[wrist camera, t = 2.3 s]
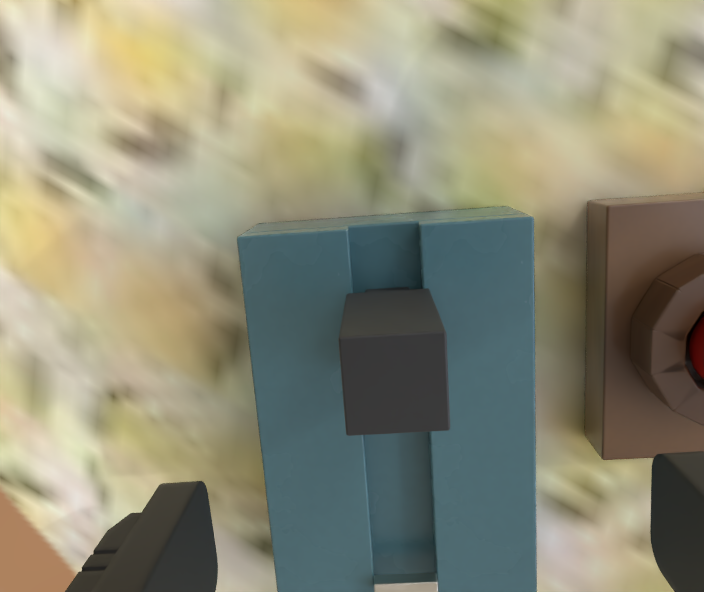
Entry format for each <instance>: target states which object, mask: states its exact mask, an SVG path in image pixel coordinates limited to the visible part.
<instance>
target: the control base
mask: <svg viewBox="0 0 704 592" xmlns="http://www.w3.org/2000/svg"><path fill="white" fill-rule="evenodd" d="M237 244H238V252H239V261H240V270H241V278H242V287H243V296H244V304H245V313H246V322H247V330H248V339H249V348H250V357H251V365H252V374H253V383H254V391H255V400H256V409H257V417H258V426H259V435H260V443H261V452H262V461H263V470H264V478H265V487H266V496H267V504H268V513H269V522H270V530H271V539H272V548H273V556H274V565H275V574H276V583H277V591H278V592H537V556H536V424H535V293H534V218H533V217H532V216H530V215H527V214H525V213H523V212H520V211H518V210H516V209H513V208H511V207H509V206H501V207H487V208H472V209H458V210H444V211H429V212H415V213H401V214H386V215H372V216H358V217H343V218H329V219H315V220H300V221H286V222H272V223H259V224H257V225H256V226H254V227H253V228H251V229H250V230H248V231H247V232H245V233H243V234H242V235H240V236H239V237H237ZM396 287H409V288H410V290H411V289H426V288H428V289H429V290H430V292H431V295H432V297H433V300H434V303H435V305H436V308H437V310H438V313H439V315H440V318H441V320H442V323H443V325H444V328H445V330H446V333H447V358H448V382H449V407H450V430H448V431H430V432H411V433H392V434H373V435H354V436H348V435H347V434H346V427H345V415H344V403H343V390H342V378H341V366H340V354H339V341H338V338H339V333H340V327H341V322H342V317H343V311H344V306H345V300H346V295H347V294H348V293H364V292H365V290H367V289H381V288H396Z"/></svg>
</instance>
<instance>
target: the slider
mask: <svg viewBox="0 0 704 592" xmlns="http://www.w3.org/2000/svg"><path fill="white" fill-rule="evenodd" d="M338 341H339V354H340V366H341V378H342V390H343V403H344V415H345V427H346V434H347V435H348V436H354V435H373V434H392V433H411V432H430V431H448V430H450V407H449V382H448V358H447V333H446V330H445V328H444V325H443V323H442V320H441V318H440V315H439V313H438V310H437V308H436V305H435V303H434V300H433V297H432V295H431V292H430V290H429V289H428V288H426V289H411V290H410V288H409V287H396V288H381V289H367V290H365V292H364V293H348V294H347V295H346V300H345V306H344V311H343V317H342V322H341V327H340V333H339V338H338Z"/></svg>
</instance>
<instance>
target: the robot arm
mask: <svg viewBox="0 0 704 592" xmlns="http://www.w3.org/2000/svg"><path fill="white" fill-rule="evenodd" d="M651 544H652V549H653V553H654V557H655V560H656V562H657V565H658V567H659V569H660V571H661V573H662V574H663V576H664V577H665V578H666V580H667V581H668V583H669V584H670V586H671V587H672V589H673V590H674V591H675V592H704V452H703V451H695V452H679V453H663V454H657V455H656V456H655V457H654V460H653V464H652V487H651ZM217 573H218V563H217V553H216V546H215V540H214V533H213V526H212V519H211V512H210V505H209V499H208V492H207V488H206V486H205V484H204V482H202V481H195V482H179V483H163V484H161V485H159V487H158V488H157V489H156V491H155V493H154V494H153V496H152V497H151V499H150V500H149V502H148V504H147V505H146V507H145V508H144V510H143V511H142V513H131V514H129V515H128V516H127V517H125V518H124V519H123V520H121V521H120V522H119V523H117V524H116V525H115V526H113V527H112V528H111V529H109V530H108V531H107V532H106V534H105V535H104V537H103V538H102V540H101V541H100V542H99V544H98V545H97V547H96V548H95V550H94V554H93V555H90V557H89V558H88V560H87V561H86V562H85V564H84V565H83V567H82V572H78V574H77V575H76V577H75V578H74V580H73V581H72V583H71V584H70V585H69V587H68V588H67V590H66V591H65V592H215V590H216V584H217Z"/></svg>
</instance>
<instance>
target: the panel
mask: <svg viewBox="0 0 704 592" xmlns="http://www.w3.org/2000/svg"><path fill="white" fill-rule="evenodd" d="M703 317H704V192H702V193H687V194H673V195H659V196H644V197H630V198H616V199H601V200H590V201H588V203H587V289H586V376H585V436H586V438H587V439H588V441H589V442H590V443H591V445H592V446H593V447H594V449H595V450H596V451H597V453H598V454H599V456H600V457H601V458H602V459H603V460H613V459H633V458H653V457H655V456H656V455H657V454H663V453H679V452H695V451H703V452H704V379H703V378H702V377H701V376H700V375H699V374H698V373H697V372H696V370H695V369H694V367H693V365H692V363H691V359H690V354H689V344H690V339H691V335H692V333H693V330H694V329H695V327H696V325H697V324H698V322H699V321H700V320H701V319H702V318H703Z"/></svg>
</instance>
